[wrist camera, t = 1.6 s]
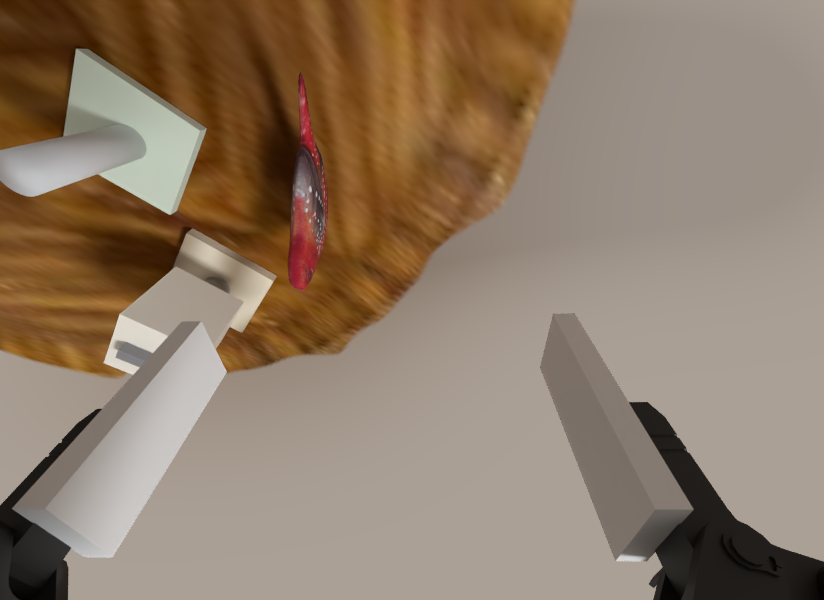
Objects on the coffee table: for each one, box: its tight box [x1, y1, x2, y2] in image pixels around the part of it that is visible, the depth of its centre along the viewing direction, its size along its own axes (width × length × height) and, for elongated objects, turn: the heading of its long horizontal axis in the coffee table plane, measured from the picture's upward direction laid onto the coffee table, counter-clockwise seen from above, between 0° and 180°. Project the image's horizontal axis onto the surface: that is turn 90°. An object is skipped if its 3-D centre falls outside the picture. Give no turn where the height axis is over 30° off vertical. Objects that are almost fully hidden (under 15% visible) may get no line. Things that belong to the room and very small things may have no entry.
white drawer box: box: [104, 267, 244, 375], centre depth 34 cm, size 7×7×9 cm
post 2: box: [173, 229, 277, 333], centre depth 37 cm, size 10×10×12 cm
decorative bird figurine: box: [288, 73, 328, 291], centre depth 30 cm, size 3×18×10 cm, turn 172°
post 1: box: [0, 49, 207, 215], centre depth 28 cm, size 10×10×12 cm
